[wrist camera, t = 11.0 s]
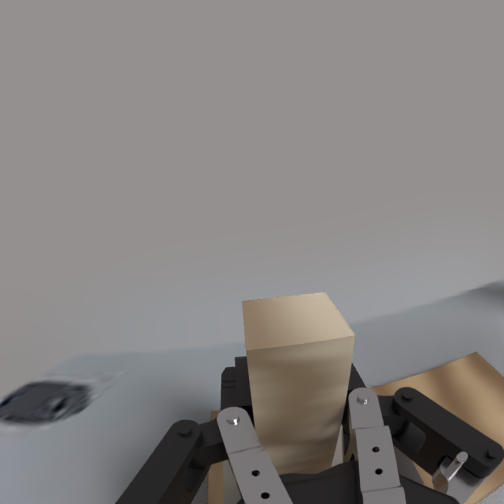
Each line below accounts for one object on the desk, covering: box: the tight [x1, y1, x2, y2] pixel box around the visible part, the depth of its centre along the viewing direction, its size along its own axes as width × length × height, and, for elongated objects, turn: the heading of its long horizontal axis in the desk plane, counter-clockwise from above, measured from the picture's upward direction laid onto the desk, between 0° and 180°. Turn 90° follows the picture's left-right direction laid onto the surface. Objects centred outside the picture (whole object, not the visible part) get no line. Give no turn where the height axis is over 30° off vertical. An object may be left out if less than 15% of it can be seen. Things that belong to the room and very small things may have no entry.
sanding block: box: [223, 292, 355, 504], centre depth 12 cm, size 8×6×12 cm
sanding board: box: [208, 352, 504, 504], centre depth 14 cm, size 26×14×2 cm, turn 94°
